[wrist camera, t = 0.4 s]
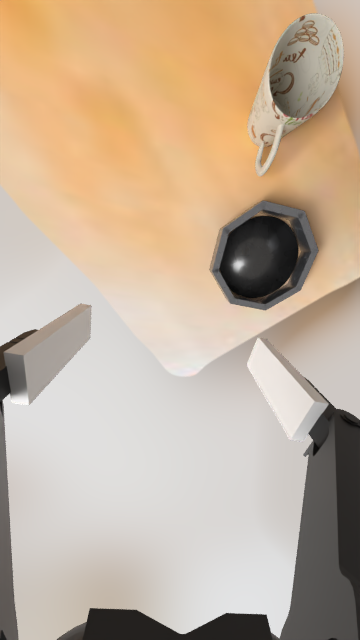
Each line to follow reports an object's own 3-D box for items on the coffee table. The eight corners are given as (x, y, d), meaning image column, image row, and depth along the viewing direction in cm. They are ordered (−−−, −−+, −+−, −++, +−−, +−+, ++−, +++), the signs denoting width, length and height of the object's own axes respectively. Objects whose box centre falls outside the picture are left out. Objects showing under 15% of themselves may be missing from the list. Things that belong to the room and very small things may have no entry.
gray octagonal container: (227, 197, 34) (232, 192, 31) (320, 220, 35) (332, 218, 33) (202, 294, 40) (204, 298, 38) (281, 310, 42) (289, 315, 39)
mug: (299, 93, 29) (358, 21, 20) (274, 189, 33) (312, 167, 24) (247, 82, 28) (282, 3, 19) (228, 181, 33) (249, 157, 24)
